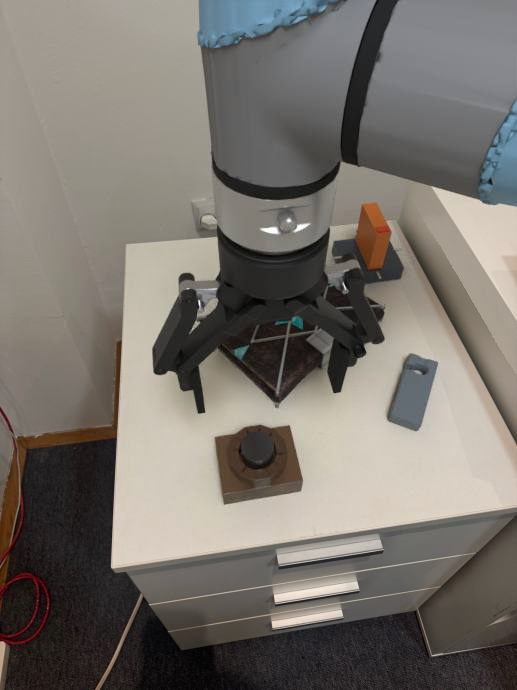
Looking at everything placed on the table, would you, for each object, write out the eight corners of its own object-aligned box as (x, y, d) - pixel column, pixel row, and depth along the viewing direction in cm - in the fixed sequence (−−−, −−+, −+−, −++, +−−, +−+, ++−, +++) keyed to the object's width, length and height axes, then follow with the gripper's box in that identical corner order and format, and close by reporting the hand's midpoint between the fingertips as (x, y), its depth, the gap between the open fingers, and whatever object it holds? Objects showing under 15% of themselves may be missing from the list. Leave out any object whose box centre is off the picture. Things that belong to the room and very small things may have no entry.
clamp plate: (386, 238, 83) (389, 226, 80) (411, 285, 76) (415, 272, 74) (322, 247, 81) (324, 234, 79) (342, 295, 75) (344, 283, 73)
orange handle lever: (354, 239, 79) (362, 202, 73) (367, 238, 79) (376, 200, 73) (368, 269, 74) (377, 232, 69) (382, 268, 75) (392, 230, 69)
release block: (288, 437, 60) (290, 417, 56) (301, 491, 56) (304, 474, 52) (216, 448, 59) (213, 429, 55) (224, 504, 55) (221, 488, 51)
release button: (270, 435, 55) (270, 428, 54) (276, 465, 53) (277, 458, 52) (239, 441, 55) (238, 433, 54) (244, 470, 53) (243, 464, 51)
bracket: (386, 421, 62) (390, 413, 60) (406, 360, 67) (410, 351, 66) (417, 432, 61) (422, 425, 59) (434, 369, 66) (439, 361, 65)
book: (277, 409, 63) (278, 389, 59) (196, 334, 70) (192, 311, 66) (383, 321, 71) (390, 298, 67) (300, 263, 79) (303, 239, 75)
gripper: (74, 285, 28) (143, 445, 45) (477, 237, 31) (399, 405, 48) (80, 205, 33) (141, 378, 50) (432, 169, 35) (375, 345, 52)
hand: (267, 391), depth 49 cm, fingers open, 13 cm apart
